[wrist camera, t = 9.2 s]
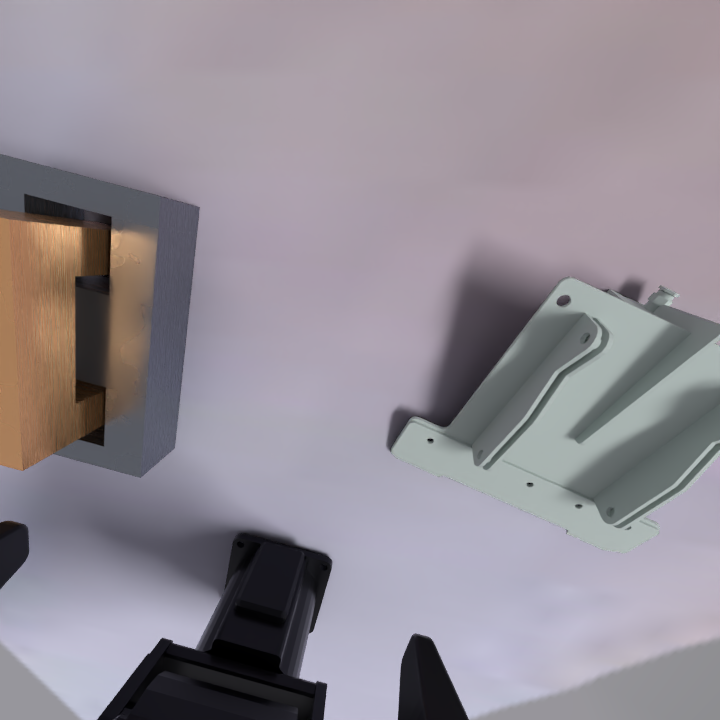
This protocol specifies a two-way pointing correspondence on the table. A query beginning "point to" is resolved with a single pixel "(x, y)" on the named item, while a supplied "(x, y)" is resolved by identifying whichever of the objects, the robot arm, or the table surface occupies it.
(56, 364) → the clip
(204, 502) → the table surface
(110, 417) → the slotted plate
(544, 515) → the metal bracket
